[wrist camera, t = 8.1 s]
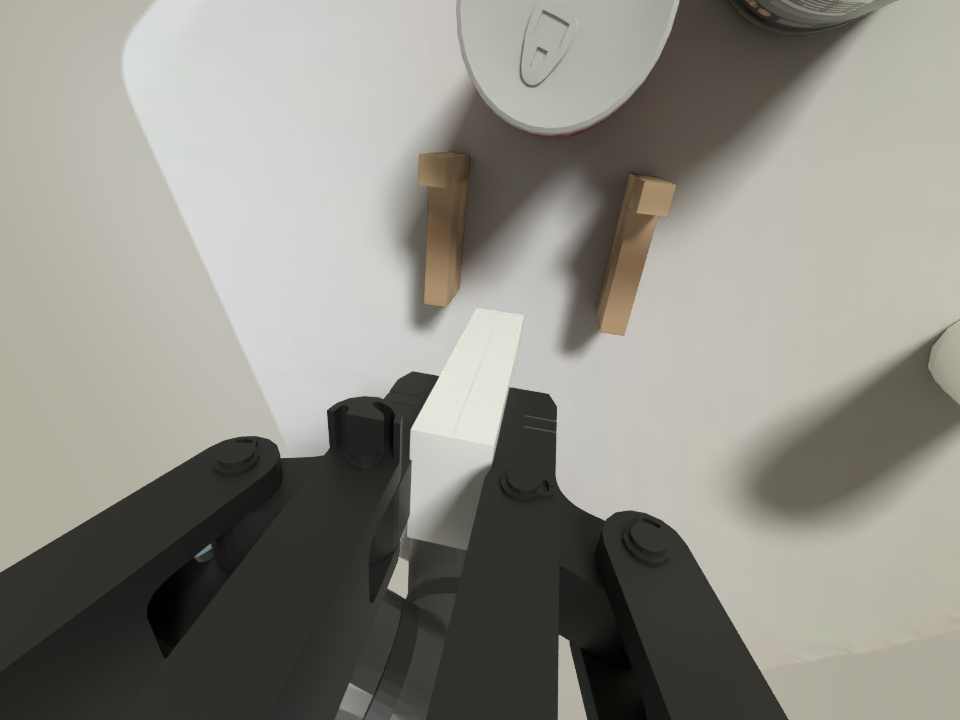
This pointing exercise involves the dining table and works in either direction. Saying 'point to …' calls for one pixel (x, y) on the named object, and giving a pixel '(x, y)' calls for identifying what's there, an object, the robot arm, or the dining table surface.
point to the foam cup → (947, 361)
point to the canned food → (560, 57)
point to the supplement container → (805, 13)
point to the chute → (625, 259)
